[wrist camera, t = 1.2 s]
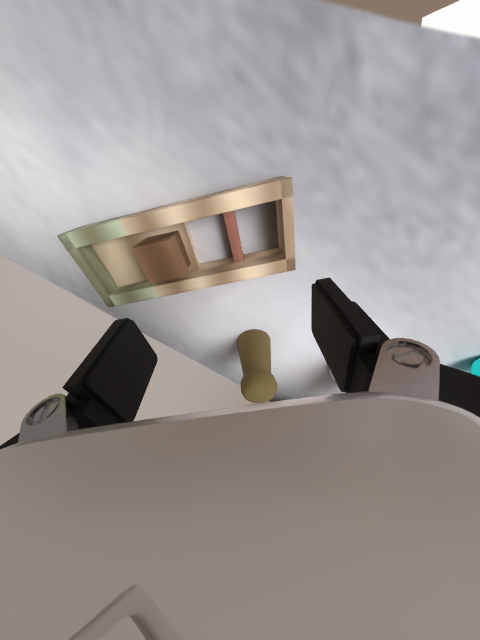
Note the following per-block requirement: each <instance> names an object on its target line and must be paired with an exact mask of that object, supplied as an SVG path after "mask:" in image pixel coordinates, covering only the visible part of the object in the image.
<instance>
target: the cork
mask: <svg viewBox="0 0 480 640" xmlns="http://www.w3.org/2000/svg"><path fill="white" fill-rule="evenodd" d="M237 346H238V351H239V356H240V360H241V365H242V370H243V375H244V376H243V378H242V380H241V392H242V394H243V396H244V397H245V399H247V400H248V401H250V402H254V403H263V402H266V401H269V400H271V399H272V398H273V397H274V396H275V394H276V391H277V383H276V380H275V378H274V376H273V375H272V374H271V350H270V338H269V336H268V334H267V333H265V332H264V331H261V330H257V329H255V330H248V331H245V332H244V333H242V334H241V335H240V336H239V337H238V340H237Z"/></svg>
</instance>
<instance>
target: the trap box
mask: <svg viewBox="0 0 480 640" xmlns="http://www.w3.org/2000/svg"><path fill="white" fill-rule="evenodd" d="M271 201H275V208H276V220H277V231H278V242H279V247H278V248H273V249H268V250H263V251H259V252H254V253H249V254H245V255H243V252H242V247H241V242H240V237H239V232H238V227H237V222H236V217H235V212H234V210H237V209H241V208H245V207H250V206H254V205H258V204H262V203H266V202H271ZM220 213H223V215H224V220H225V224H226V228H227V233H228V237H229V241H230V246H231V250H232V254H233V257H231V258H226V259H221V260H217V261H212V262H207V263H203V264H200V263H199V260H198V257H197V254H196V251H195V248H194V245H193V242H192V239H191V236H190V233H189V230H188V227H187V224H186V222H187V221H191V220H195V219H199V218H203V217H208V216H212V215H216V214H220ZM177 230H179V233H180V235H181V238H182V241H183V244H184V246H185V249H186V252H187V255H188V257H189V260H190V263H191V264H190V266H189V268H188V270H187V272H186V274H185V277H181V278H176V279H172V280H167V281H162V282H157V283H152V284H150V282H149V280H148V278H147V276H146V274H145V273H144V271H143V269H142V267H141V265H140V263H139V261H138V259H137V257H136V255H135V253H134V252H133V250H132V248H133V247H134V246H136V245H137V244H138V243H140V242H141V241H142V240H144V239H145V238H147V237H152V236H156V235H160V234H164V233H169V232H173V231H177ZM57 236H58V238H59V239H60V240H61V242H62V243H63V245H64V246H65V247H66V249H67V250H68V252H69V253H70V254H71V256H72V257H73V259H74V260H75V261H76V263H77V264H78V266H79V267H80V268H81V270H82V271H83V273H84V274H85V275H86V277H87V278H88V279H89V281H90V282H91V284H92V285H93V286H94V288H95V289H96V291H97V292H98V293H99V295H100V296H101V298H102V299H103V300H104V302H105V303H106V305H107V306H108V307H113V306H118V305H123V304H128V303H133V302H138V301H143V300H148V299H153V298H158V297H163V296H167V295H172V294H177V293H182V292H187V291H192V290H197V289H202V288H207V287H212V286H217V285H222V284H227V283H232V282H237V281H242V280H247V279H252V278H257V277H262V276H267V275H272V274H277V273H282V272H287V271H292V270H296V269H295V246H294V222H293V199H292V177H283V176H282V177H277V178H273V179H269V180H265V181H261V182H257V183H253V184H249V185H245V186H241V187H237V188H233V189H229V190H225V191H221V192H217V193H213V194H209V195H205V196H201V197H197V198H193V199H189V200H185V201H181V202H177V203H173V204H169V205H165V206H161V207H157V208H153V209H149V210H145V211H141V212H137V213H133V214H129V215H125V216H121V217H117V218H113V219H109V220H105V221H101V222H97V223H93V224H89V225H85V226H82V227H79V228H76V229H74V230H71V231H68V232H65V233H62V234H60V235H57Z"/></svg>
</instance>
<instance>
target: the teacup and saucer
mask: <svg viewBox="0 0 480 640" xmlns="http://www.w3.org/2000/svg"><path fill="white" fill-rule="evenodd" d="M421 26H425V27H426V26H427V27H431V28H435V29H440V30H444V31H449V32H454V33H459V34H463V35H469V36H475V37H480V0H459V1H458V2H456V3H453V4H451V5H449V6H446V7H444V8H442V9H440V10H438V11H436V12H434V13H431V14H429V15H427V16H425V17H423V18H422V24H421Z"/></svg>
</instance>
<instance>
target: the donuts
mask: <svg viewBox="0 0 480 640" xmlns="http://www.w3.org/2000/svg"><path fill="white" fill-rule="evenodd" d="M471 374H473V375H477V376H480V358H478V359H477V360H475V361H474V362H473V364H472V366H471Z"/></svg>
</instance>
